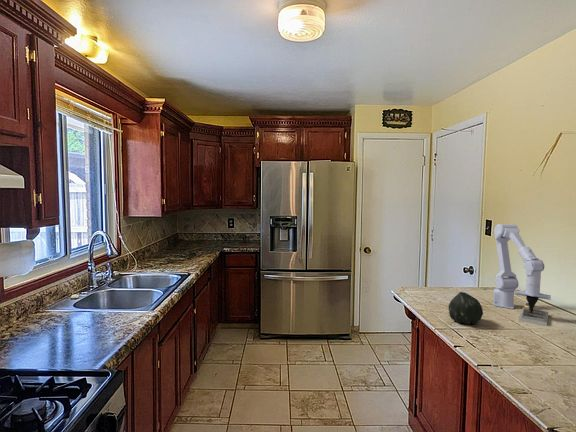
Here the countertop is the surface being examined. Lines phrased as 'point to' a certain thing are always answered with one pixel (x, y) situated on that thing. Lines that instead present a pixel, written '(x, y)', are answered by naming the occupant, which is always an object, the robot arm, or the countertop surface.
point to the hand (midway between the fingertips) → (531, 311)
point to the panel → (535, 317)
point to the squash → (465, 309)
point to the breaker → (526, 312)
